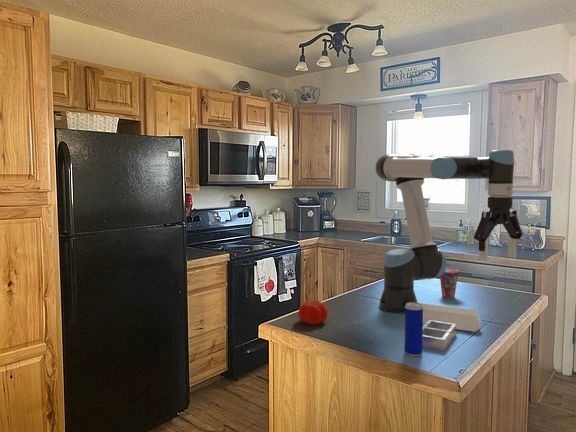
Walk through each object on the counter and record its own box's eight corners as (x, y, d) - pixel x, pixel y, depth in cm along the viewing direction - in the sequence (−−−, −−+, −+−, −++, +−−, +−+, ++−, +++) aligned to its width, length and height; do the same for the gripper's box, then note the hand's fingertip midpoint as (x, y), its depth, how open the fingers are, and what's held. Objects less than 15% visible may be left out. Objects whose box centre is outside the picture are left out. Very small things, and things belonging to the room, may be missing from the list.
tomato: (319, 316, 170) (319, 297, 169) (332, 325, 160) (332, 304, 159) (293, 319, 166) (293, 300, 166) (305, 329, 156) (305, 308, 155)
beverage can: (408, 348, 137) (409, 301, 136) (425, 352, 134) (425, 303, 133) (401, 353, 133) (402, 304, 132) (418, 358, 130) (418, 307, 129)
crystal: (406, 314, 159) (479, 324, 148) (411, 300, 164) (481, 309, 153) (409, 329, 163) (480, 340, 151) (413, 315, 168) (482, 324, 157)
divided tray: (414, 345, 140) (414, 334, 139) (428, 329, 154) (429, 319, 154) (444, 351, 135) (444, 339, 135) (456, 334, 149) (456, 324, 149)
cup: (456, 300, 190) (457, 272, 189) (436, 297, 195) (436, 270, 194) (460, 295, 198) (461, 269, 197) (441, 293, 203) (441, 267, 202)
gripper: (482, 197, 141) (479, 264, 143) (535, 195, 151) (532, 257, 153) (463, 196, 147) (461, 260, 149) (516, 195, 158) (513, 254, 160)
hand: (497, 259), depth 151 cm, fingers open, 13 cm apart
